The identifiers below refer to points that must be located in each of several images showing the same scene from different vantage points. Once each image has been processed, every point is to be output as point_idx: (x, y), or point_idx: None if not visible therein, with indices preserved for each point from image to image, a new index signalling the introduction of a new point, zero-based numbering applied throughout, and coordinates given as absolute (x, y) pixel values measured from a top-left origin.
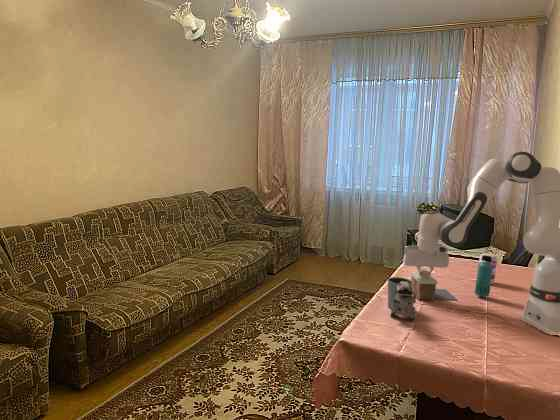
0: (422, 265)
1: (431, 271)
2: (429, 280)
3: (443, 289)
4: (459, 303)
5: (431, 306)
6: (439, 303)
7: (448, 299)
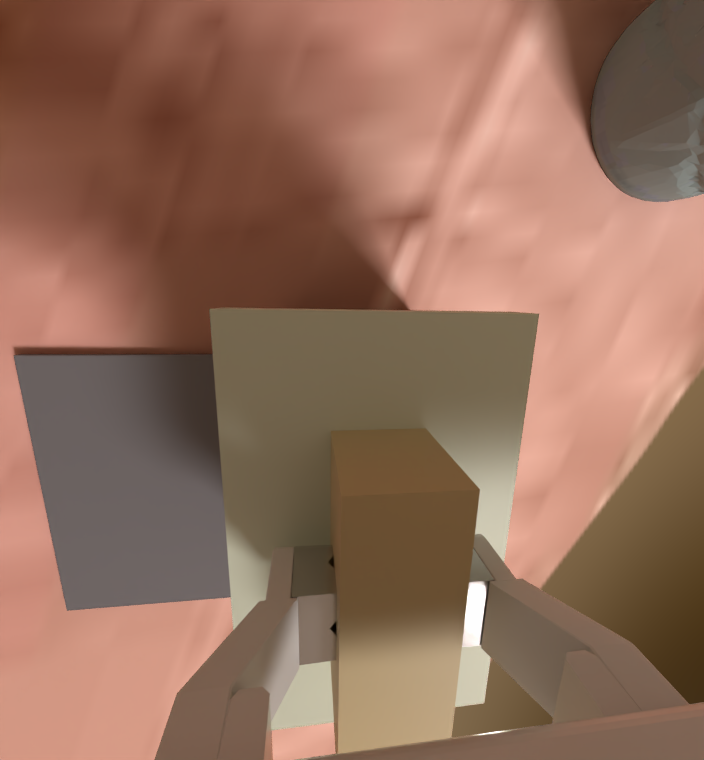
0: (640, 755)
1: (253, 623)
2: (352, 366)
3: (88, 601)
4: (19, 272)
5: (350, 161)
6: (240, 252)
7: (113, 355)
